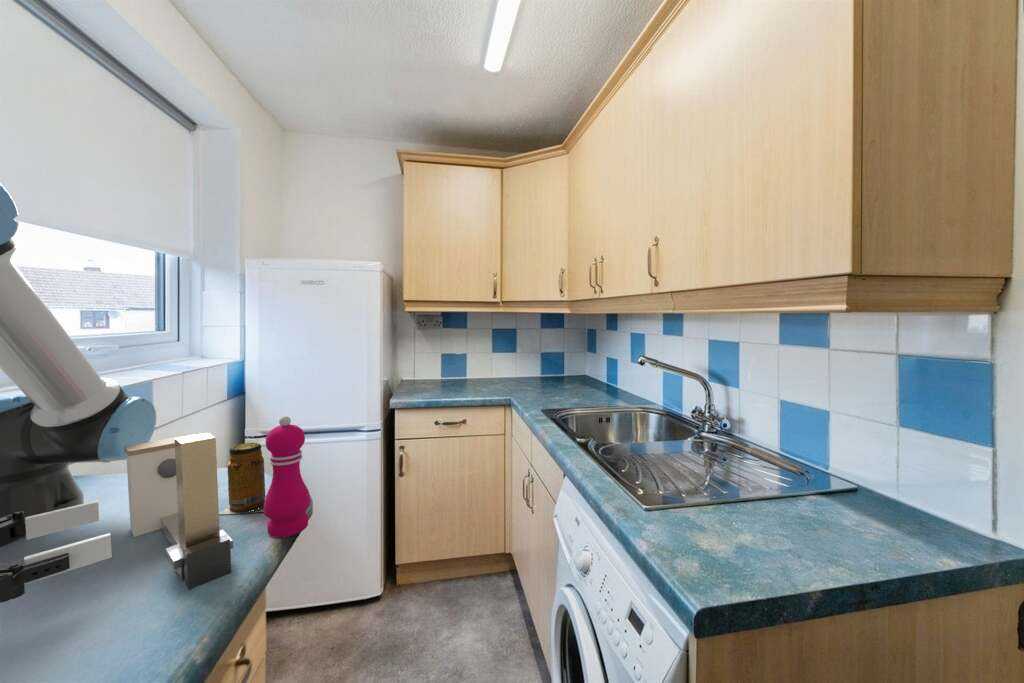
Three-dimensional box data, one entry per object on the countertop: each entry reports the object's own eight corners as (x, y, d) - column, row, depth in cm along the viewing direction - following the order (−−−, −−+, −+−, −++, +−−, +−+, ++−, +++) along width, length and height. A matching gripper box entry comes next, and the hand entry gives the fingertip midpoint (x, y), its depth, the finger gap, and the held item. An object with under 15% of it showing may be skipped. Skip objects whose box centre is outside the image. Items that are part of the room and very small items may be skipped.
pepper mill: (320, 520, 74) (317, 412, 73) (290, 541, 67) (286, 422, 66) (286, 516, 76) (283, 410, 75) (254, 536, 69) (249, 420, 68)
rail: (153, 531, 71) (152, 503, 71) (189, 520, 75) (188, 493, 74) (188, 590, 55) (186, 554, 55) (231, 572, 59) (229, 539, 59)
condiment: (239, 498, 84) (237, 441, 83) (282, 496, 85) (281, 440, 84) (217, 515, 77) (215, 453, 76) (265, 513, 77) (263, 451, 77)
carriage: (166, 569, 59) (160, 440, 58) (223, 548, 65) (218, 429, 64) (174, 584, 56) (167, 447, 55) (233, 561, 62) (228, 435, 61)
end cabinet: (128, 529, 72) (124, 446, 71) (201, 508, 79) (198, 433, 79) (133, 538, 68) (128, 452, 68) (208, 515, 76) (204, 438, 76)
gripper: (-182, 597, 45) (95, 523, 61) (-301, 753, 28) (119, 596, 45) (-188, 530, 44) (92, 474, 60) (-312, 650, 28) (115, 529, 44)
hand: (104, 526), depth 53 cm, fingers open, 13 cm apart
